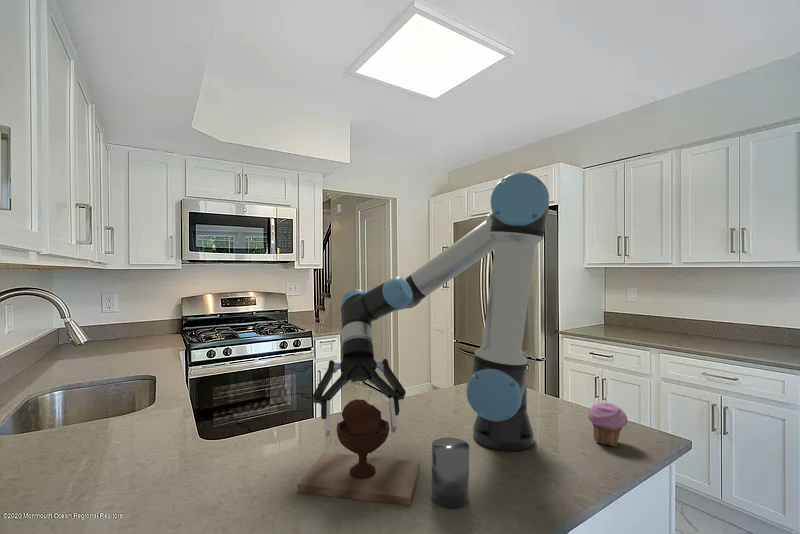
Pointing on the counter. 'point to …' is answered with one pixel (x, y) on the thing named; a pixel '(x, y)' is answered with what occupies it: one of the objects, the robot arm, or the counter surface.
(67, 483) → the counter surface
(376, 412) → the ice cream bowl
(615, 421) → the cupcake
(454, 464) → the metal tin
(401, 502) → the walnut board
